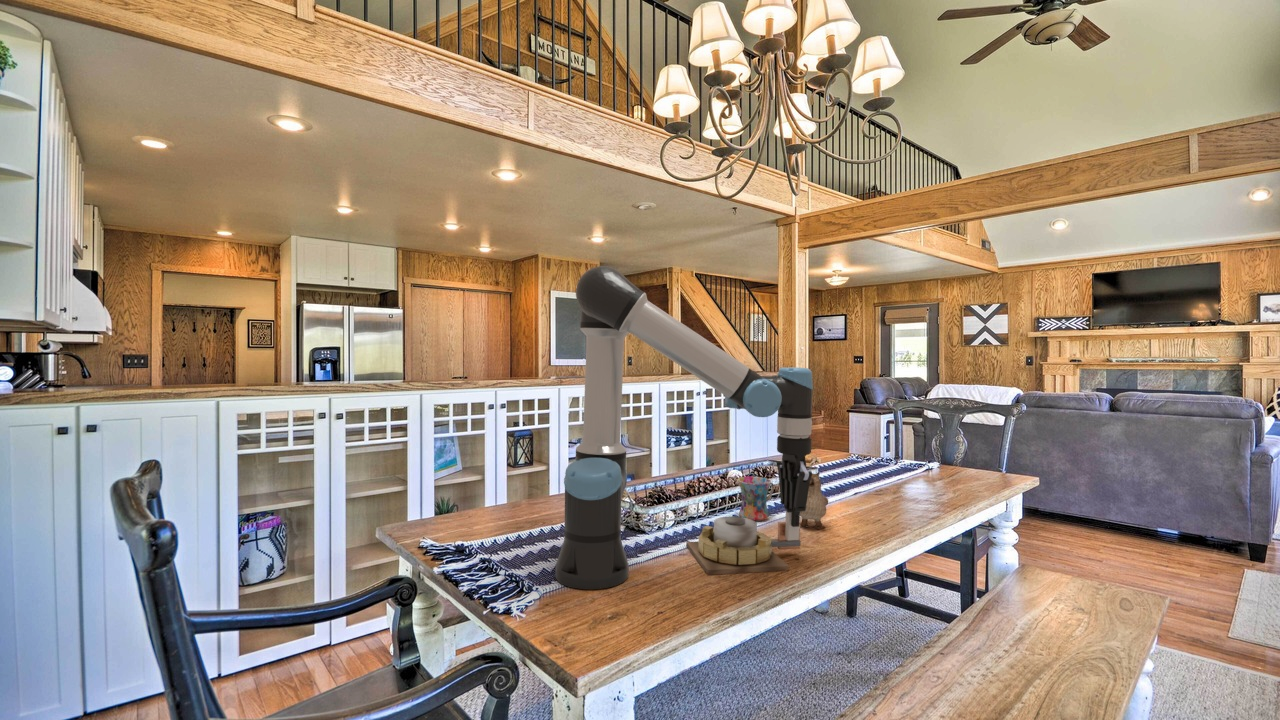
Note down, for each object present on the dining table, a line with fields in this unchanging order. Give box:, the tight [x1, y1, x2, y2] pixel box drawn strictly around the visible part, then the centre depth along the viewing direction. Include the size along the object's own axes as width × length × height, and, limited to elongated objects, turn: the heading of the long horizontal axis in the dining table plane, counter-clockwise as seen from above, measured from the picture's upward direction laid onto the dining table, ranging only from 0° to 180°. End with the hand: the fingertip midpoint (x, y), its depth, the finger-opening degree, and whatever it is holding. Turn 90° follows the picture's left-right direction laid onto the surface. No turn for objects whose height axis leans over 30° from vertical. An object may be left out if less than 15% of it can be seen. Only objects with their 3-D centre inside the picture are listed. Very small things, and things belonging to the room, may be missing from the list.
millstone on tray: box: [698, 521, 802, 565], centre depth 136 cm, size 24×16×6 cm
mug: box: [737, 476, 775, 521], centre depth 168 cm, size 12×9×11 cm
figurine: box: [800, 472, 829, 530], centre depth 160 cm, size 9×10×15 cm
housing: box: [685, 516, 789, 576], centre depth 136 cm, size 18×19×9 cm
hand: (792, 539), depth 136 cm, fingers closed
